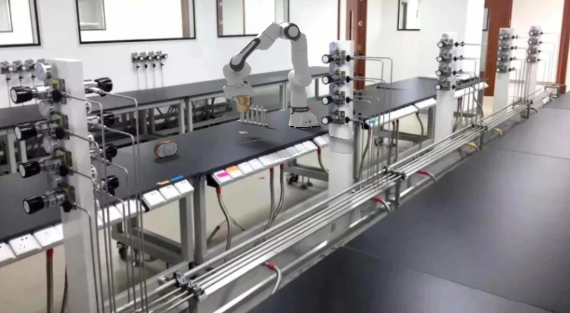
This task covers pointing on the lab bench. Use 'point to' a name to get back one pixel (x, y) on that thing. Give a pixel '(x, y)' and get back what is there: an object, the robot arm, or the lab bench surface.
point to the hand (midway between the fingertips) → (243, 102)
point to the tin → (165, 148)
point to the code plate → (243, 132)
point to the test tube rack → (253, 116)
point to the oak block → (243, 104)
